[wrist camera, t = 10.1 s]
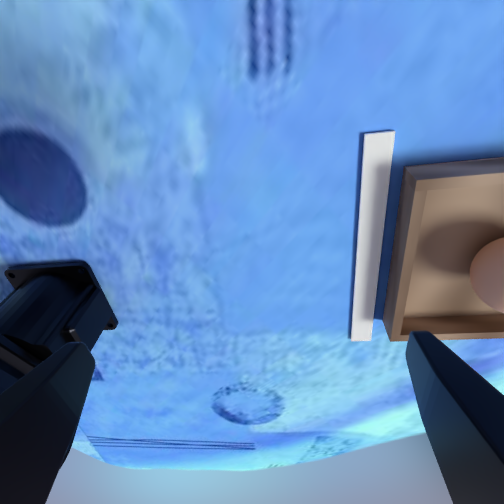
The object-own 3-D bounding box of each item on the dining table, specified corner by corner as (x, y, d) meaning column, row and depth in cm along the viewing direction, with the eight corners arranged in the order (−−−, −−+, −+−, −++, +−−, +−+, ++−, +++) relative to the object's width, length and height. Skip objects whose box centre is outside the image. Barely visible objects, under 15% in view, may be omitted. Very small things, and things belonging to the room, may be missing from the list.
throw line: (350, 339, 26) (351, 341, 26) (364, 133, 17) (364, 134, 17) (370, 338, 26) (370, 340, 25) (393, 130, 17) (395, 131, 17)
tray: (382, 320, 24) (390, 341, 23) (404, 166, 18) (416, 180, 16) (559, 313, 23) (580, 335, 21) (654, 142, 16) (697, 155, 15)
